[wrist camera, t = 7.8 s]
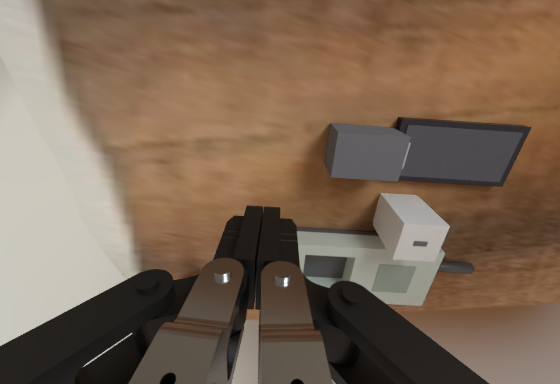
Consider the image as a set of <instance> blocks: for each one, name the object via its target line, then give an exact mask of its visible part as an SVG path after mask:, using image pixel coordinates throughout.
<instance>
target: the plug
mask: <svg viewBox="0 0 560 384" xmlns="http://www.w3.org/2000/svg"><path fill="white" fill-rule="evenodd" d="M410 139H411V137H410V136H408V135H406V134H404V133H402V132H400V131H398V130H396V129H395V128H393V127H379V126H365V125H350V124H336V123H330V129H329V135H328V142H327V148H326V155H325V162H324V163H325V166H326V168H327V170H328V172H329V175H330V177H332V178H347V179H362V180H378V181H393V182H398V180H399V176H400V173H401V170H402V169H403V167H404V164H405V160H406V157H407V154H408V150H409V147H410V144H411V143H410Z"/></svg>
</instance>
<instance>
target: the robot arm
mask: <svg viewBox="0 0 560 384" xmlns="http://www.w3.org/2000/svg"><path fill="white" fill-rule="evenodd" d="M255 294H256V308H255V309H258V310H260V314H259V351H258V353H259V354H258V356H259V357H258V384H332V379H333V380H334V382H335V383H336V384H489V383H487V382H486V381H485V380H484V379H482V378H481V377H480V376H479V375H477V374H476V373H474V372H473V371H472V370H471V369H470V368H468V367H467V366H465V365H464V364H463V363H462V362H460V361H459V360H458V359H456V358H455V357H454V356H453V355H451V354H450V353H449V352H447V351H446V350H445V349H444V348H442V347H441V346H439V345H438V344H437V343H436V342H435V341H433V340H432V339H431V338H429V337H428V336H427V335H425V334H424V333H423V332H422V331H420V330H419V329H418V328H416V327H415V326H414V325H412V324H411V323H410V322H409V321H407V320H406V319H405V318H403V317H402V316H401V315H400V314H398V313H397V312H396V311H394V310H393V309H392V308H391V307H389V306H388V305H387V304H385V303H384V302H383V301H381V300H380V299H379V298H378V297H376V296H375V295H374V294H372V293H371V292H370V291H369V290H367V289H366V288H365V287H363V286H362V285H360V284H358V283H355V282H352V281H338V282H336V283H334V284H332V285H331V287H330V288H328V287H325V286H321V285H318V284H316V283H314V282H312V281H310V280H309V279H307V278H306V277H305V276H304V274H303V273H302V271H301V269H300V261H299V249H298V238H297V226H296V225H295V223H294V222H293V221H292V219H281V218H280V207H264V212H263V206H247V207H246V210H245V214H244V216H233V217H232V218H231V219H230V220H229V221H228V222H227V224H226V226H225V229H224V232H223V235H222V237H221V240H220V243H219V245H218V248H217V251H216V254H215V256H214V259H213V260H212V261H210V262H209V263H207V264H206V265H205V266H204V267H203V268H202V270H201V272H200V274H198V275H196V276H193V277H189V278H183V279H178V280H173V277H172V275H171V274H170V273H169V272H167V271H165V270H160V269H153V270H147V271H144V272H141V273H139V274H137V275H135V276H133V277H131V278H129V279H127V280H125V281H124V282H122V283H120V284H118V285H116V286H114V287H112V288H110V289H108V290H106V291H104V292H103V293H101V294H99V295H97V296H95V297H93V298H91V299H90V300H87V301H85V302H84V303H82V304H80V305H78V306H76V307H74V308H72V309H70V310H68V311H67V312H64V313H63V314H61V315H59V316H57V317H55V318H53V319H52V320H50V321H47V322H45V323H44V324H42V325H40V326H38V327H36V328H34V329H32V330H30V331H29V332H26V333H25V334H23V335H21V336H19V337H17V338H15V339H13V340H11V341H9V342H7V343H6V344H4V345H2V346H0V384H231V383H232V378H233V374H234V370H235V366H236V361H237V357H238V353H239V348H240V344H241V340H242V335H243V331H244V323H245V320H246V314H247V309H254V302H255ZM130 333H132V335H130V336H129V337H127V338H126V339H124V340H123V341H121V342H120V343H119V344H117V345H116V346H114V347H113V348H111V349H110V350H108V351H107V352H105V353H104V354H102V355H101V356H100V357H98V358H97V359H95V360H94V361H92V362H91V363H89V364H88V365H86V366H85V367H83V366H84V365H85V364H86V363H88V362H89V361H91V360H92V359H94V358H95V357H96V356H98V355H99V354H101V353H102V352H104V351H105V350H107V349H108V348H110V347H111V346H113V345H114V344H116V343H117V342H119V341H120V340H122V339H123V338H124V337H126V336H127V335H129V334H130ZM82 367H83V368H82ZM331 378H332V379H331Z"/></svg>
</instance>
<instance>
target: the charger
mask: <svg viewBox="0 0 560 384" xmlns="http://www.w3.org/2000/svg"><path fill="white" fill-rule="evenodd" d="M372 225H373V226H374V228H375V230H376V232H377V233H378V235H379V237H380V239H381V240H382V242H383V244H384V246H385V247H386V249H387V251H388V253H389V254H390V256H391V258H392V259H393V260H409V261H427V262H435V260H436V258H437V255H438V253H439V251H440V248H441V246H442V244H443V242H444V239H445V237H446V235H447V232H448V230H449V228H450V226H449V225H448V224H447V223H446V222H445V221H444V220H443V219H442V218H441V217H440V216H439V215H437V214H436V213H435V212H434V211H433V210H432V209H431V208H430V207H429V206H428V205H427V204H426V203H425V202H424V201H423V200H422V199H420V198H419V197H418V196H417V195H405V194H388V193H380V197H379V200H378V204H377V208H376V212H375V215H374V219H373V223H372Z"/></svg>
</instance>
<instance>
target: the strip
mask: <svg viewBox="0 0 560 384" xmlns="http://www.w3.org/2000/svg"><path fill="white" fill-rule="evenodd" d="M297 238H298V249H299V261H300V269H301V271H302V273H303V274H304V276H305V277H306V278H307V279H309V280H310V281H312V282H314V283H316V284H318V285H321V286H325V287H328V288H330V287H331V285H332V284H334V283H336V282H338V281H352V282H355V283H358V284H360V285H362V286H363V287H365V288H366V289H367V290H369V291H370V292H371V293H372V294H374V295H375V296H376V297H378V298H379V299H380V300H381V301H383V302H384V303H385V304H396V305H414V306H422V304H423V302H424V300H425V297H426V295H427V293H428V291H429V288H430V286H431V284H432V282H433V280H434V277H435V275H436V273H437V272H454V273H473V272H474V267H473V265H472V264H471V263H457V262H442V260H443V257H444V255H445V252H444V251H443V250H442V249H441V248H440V251H439V253H438V255H437V258H436V260H435V262H427V261H409V260H393V259H392V258H391V256H390V254H389V253H388V251H387V249H386V247H385V246H384V244H383V242H382V240H381V239H380V237H379V235H378V233H377V232H369V231H353V230H336V229H320V228H303V227H297Z"/></svg>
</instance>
